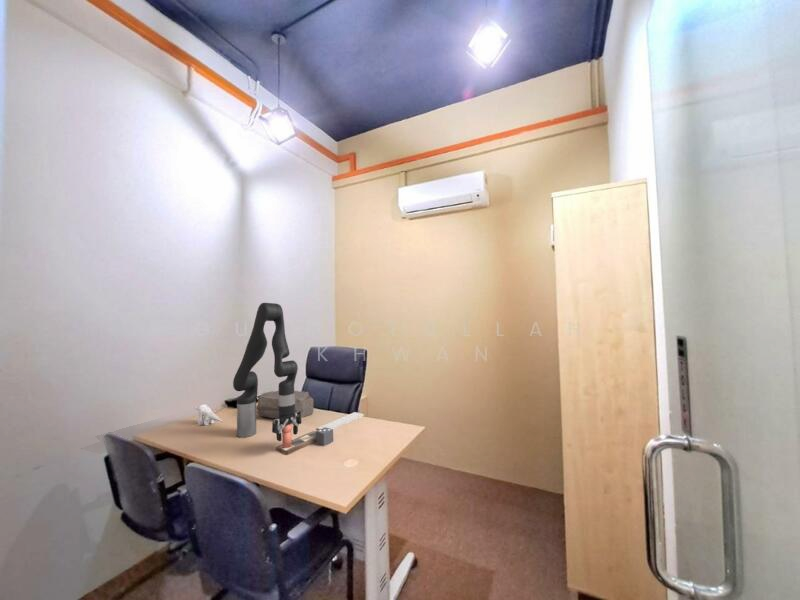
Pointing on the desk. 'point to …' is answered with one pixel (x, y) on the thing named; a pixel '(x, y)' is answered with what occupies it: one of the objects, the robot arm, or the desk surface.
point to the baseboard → (342, 421)
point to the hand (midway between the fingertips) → (287, 437)
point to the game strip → (298, 443)
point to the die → (324, 436)
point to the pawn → (286, 436)
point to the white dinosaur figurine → (206, 415)
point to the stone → (270, 404)
